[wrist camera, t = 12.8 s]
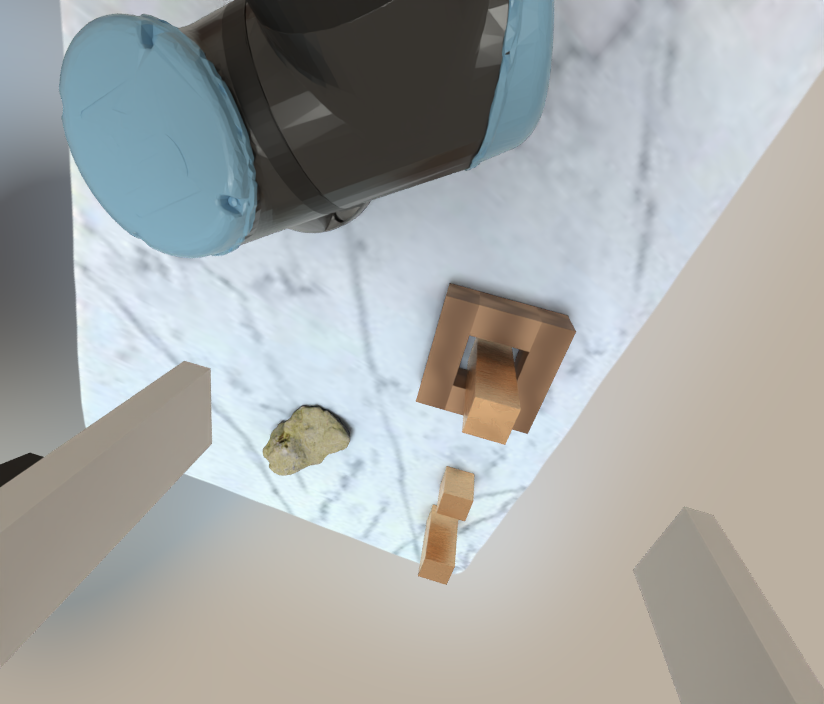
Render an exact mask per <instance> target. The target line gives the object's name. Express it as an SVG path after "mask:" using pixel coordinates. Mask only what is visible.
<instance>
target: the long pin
mask: <svg viewBox="0 0 824 704" xmlns="http://www.w3.org/2000/svg"><path fill="white" fill-rule="evenodd" d="M520 410H521V408H520V401H519V394H518V387H517V380H516V373H515V366H514V359H513V352H512V347H510V346H506V345H502V344H499V343H495V342H492V341H488V340H485V339H481V338H477V337H476V338H475V341H474V344H473V347H472V350H471V353H470V356H469V359H468V365H467V378H466V390H465V403H464V415H463V428H462V432H463V433H466V434H470V435H473V436H477V437H480V438H483V439H487V440H490V441H494V442H497V443H501V444H504V445H505V444H506V442H507V439H508V437H509V435H510V433H511V430H512V428H513V426H514V424H515V422H516V419H517V417H518V415H519V413H520Z"/></svg>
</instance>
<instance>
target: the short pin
mask: <svg viewBox="0 0 824 704" xmlns="http://www.w3.org/2000/svg"><path fill="white" fill-rule="evenodd" d="M473 495H474V474H473V473H469V472H466V471H462V470H459V469H455V468H452V467H448V466H447V467H446V470H445V473H444V475H443V478H442V481H441V484H440V489H439V496H438V504H437V511H436V513H438V514H441V515H445V516H448V517H452V518H455V519H458V520H462V521H465V520H466V518H467V515H468V513H469V510H470V508H471V505H472V503H473Z"/></svg>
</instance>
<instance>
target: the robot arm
mask: <svg viewBox="0 0 824 704" xmlns="http://www.w3.org/2000/svg"><path fill="white" fill-rule="evenodd" d="M553 31H554V0H234V1H232V2H230V3H228V4H227V5H225V6H223V7H221V8H219V9H218V10H216V11H214V12H212V13H210V14H208V15H207V16H205V17H203V18H201V19H199V20H198V21H196V22H194V23H192V24H190V25H188V26H185V27H181V28H177V27H175V26H172V25H171V24H169V23H168V22H166V21H164V20H160V19H158V18H156V17H154V16H151V15H147V14H142V15H141V16H136V15H129V14H111V15H106V16H102V17H99V18H96V19H94V20H93V21H91V22H89V23H88V24H87V25H86V26H84V27H83V28H82V29H81V30H80V31H79V32H78V33H77V34H76V36H75V37H74V38H73V40H72V42H71V43H70V45H69V47H68V49H67V51H66V54H65V57H64V59H63V64H62V67H61V74H60V84H59V91H60V95H61V99H62V103H63V115H62V122H63V127H64V131H65V135H66V138H67V142H68V145H69V148H70V150H71V153H72V156H73V158H74V161H75V163H76V165H77V167H78V169H79V171H80V173H81V175H82V177H83V179H84V180H85V182H86V184H87V185H88V187H89V189H90V190H91V192H92V193H93V195H94V196H95V198H96V199H97V200H98V202H99V203H100V204H101V206H102V207H103V208H104V209H105V210H106V212H107V213H108V214H109V215H110V216H111V217H112V218H113V219H114V220H115V221H116V222H117V223H118V224H119V225H120V226H121V227H122V228H123V229H124V230H126V231H127V232H128V233H129V234H131V235H132V236H134V237H136V238H139V239H142V240H143V241H144V242H146V244H147V245H149V246H150V247H152V248H153V249H155V250H157V251H160V252H162V253H165V254H168V255H171V256H176V257H182V258H201V257H205V256H210V255H212V256H220V255H225V254H228V253H230V252H232V251H234V250H236V249H237V248H238V247H239V246H240V245H242V244H245V243H248V242H251V241H253V240H256V239H259V238H262V237H265V236H268V235H270V234H273V233H276V232H279V231H282V230H285V229H291V230H294V231H299V232H304V233H321V232H327V231H331V230H334V229H337V228H339V227H341V226H343V225H345V224H347V223H349V222H350V221H352V220H353V219H355V218H356V217H357V216H359V215H360V214H361V213H362V212H363V211H364V209H365V208H366V207H367V206H368V204H369V203H370V201H371V200H373V199H376V198H380V197H383V196H386V195H389V194H392V193H395V192H398V191H401V190H404V189H407V188H410V187H413V186H416V185H419V184H422V183H425V182H428V181H431V180H434V179H437V178H440V177H443V176H446V175H449V174H452V173H456V172H459V171H462V170H465V171H467V170H470V169H471V168H475V167H476V166H477V165H479V164H480V162H482V161H484V160H487V159H489V158H492V157H494V156H496V155H499V154H501V153H504V152H506V151H508V150H511V149H513V148H515V147H517V146H519V145H520V144H521V143H523V142H524V141H525V140H526V139H527V138H528V137H529V136H530V135H531V134H532V132H533V131H534V129H535V127H536V125H537V123H538V122H539V120H540V117H541V114H542V112H543V108H544V105H545V101H546V96H547V92H548V86H549V79H550V71H551V61H552V49H553ZM211 444H212V425H211V370H210V368H207V367H203V366H200V365H197V364H193V363H190V362H186V361H183V362H182V363H180V364H179V365H178V366H176V367H175V368H173V369H172V370H170V371H169V372H167V373H166V374H164V375H163V376H162V377H160V378H159V379H157V380H156V381H154V382H153V383H151V384H150V385H148V386H147V387H146V388H144V389H143V390H141V391H140V392H138V393H137V394H135V395H134V396H132V397H131V398H130V399H128V400H127V401H125V402H124V403H122V404H121V405H119V406H118V407H116V408H115V409H114V410H112V411H111V412H109V413H108V414H106V415H105V416H103V417H102V418H100V419H99V420H98V421H96V422H95V423H93V424H92V425H90V426H89V427H87V428H86V429H84V430H83V431H82V432H80V433H79V434H77V435H76V436H74V437H73V438H72V439H70V440H69V441H67V442H66V443H64V444H63V445H61V446H60V447H58V448H57V449H56V450H54V451H53V452H51V453H50V454H48V455H47V456H45V457H42V456H39V455H36V454H32V453H28V454H25V455H23V456H20V457H18V458H15V459H13V460H10V461H8V462H5V463H3V464H0V668H1V667H2V666H3V665H4V664H5V663H6V662H7V661H8V660H9V659H10V657H11V656H12V655H13V654H14V653H15V652H16V651H17V650H18V649H19V648H20V647H21V646H22V645H23V644H24V643H25V642H26V640H27V639H28V638H29V637H30V636H31V635H32V634H33V633H34V632H35V631H36V630H37V629H38V628H39V627H40V626H41V624H42V623H43V622H44V621H45V620H46V619H47V618H48V617H49V616H50V615H51V614H52V613H53V612H54V611H55V610H56V608H58V607H59V605H60V604H61V603H62V602H63V601H64V600H65V599H66V598H67V597H68V596H69V595H70V594H71V593H72V592H73V591H74V590H75V588H76V587H77V586H78V585H79V584H80V583H81V582H82V581H83V580H84V579H85V578H86V577H87V576H88V574H90V572H91V571H92V570H93V569H94V568H95V567H96V566H97V565H98V564H99V563H100V562H101V561H102V560H103V559H104V558H105V557H106V555H107V554H108V553H109V552H110V551H111V550H112V549H113V548H114V547H115V546H116V545H117V544H118V543H119V542H120V541H121V539H123V537H124V536H125V535H126V534H127V533H128V532H129V531H130V530H131V529H132V528H133V527H134V526H135V525H136V524H137V523H138V522H139V520H140V519H141V518H142V517H143V516H144V515H145V514H146V513H147V512H148V511H149V510H150V509H151V508H152V507H153V506H154V504H156V502H157V501H158V500H159V499H160V498H161V497H162V496H163V495H164V494H165V493H166V492H167V491H168V490H169V489H170V488H171V486H172V485H173V484H174V483H175V482H176V481H177V480H178V479H179V478H180V477H181V476H182V475H183V474H184V473H185V472H186V471H187V470H188V468H189V467H190V466H191V465H192V464H193V463H194V462H195V461H196V460H197V459H198V458H199V457H200V456H201V455H202V454H203V453H204V451H205V450H206V449H207V448H208V447H209V446H210V445H211ZM633 571H634V574H635V576H636V579H637V582H638V585H639V588H640V591H641V593H642V596H643V599H644V601H645V604H646V607H647V610H648V613H649V616H650V618H651V621H652V624H653V627H654V630H655V632H656V635H657V638H658V640H659V644H660V647H661V649H662V652H663V655H664V658H665V661H666V663H667V666H668V669H669V672H670V674H671V677H672V680H673V683H674V686H675V688H676V691H677V694H678V697H679V700H680V702H681V704H824V689H823V687H822V685H821V684H820V682H819V681H818V679H817V678H816V676H815V674H814V673H813V672H812V670H811V668H810V666H809V665H808V663H807V662H806V660H805V659H804V657H803V655H802V654H801V652H800V651H799V649H798V648H797V646H796V644H795V643H794V641H793V640H792V638H791V636H790V635H789V634H788V632H787V630H786V629H785V627H784V625H783V624H782V622H781V621H780V619H779V618H778V616H777V614H776V613H775V611H774V610H773V608H772V607H771V605H770V603H769V602H768V600H767V599H766V597H765V596H764V594H763V592H762V591H761V589H760V588H759V586H758V585H757V583H756V581H755V580H754V578H753V577H752V575H751V573H750V572H749V570H748V569H747V567H746V566H745V564H744V562H743V561H742V560H741V558H740V556H739V555H738V553H737V551H736V550H735V548H734V547H733V545H732V544H731V542H730V540H729V539H728V538H727V536H726V534H725V533H724V531H723V529H722V528H721V526H720V525H719V524H718V522H717V520H716V519H715V517H714V515H711V514H708V513H705V512H701V511H698V510H694V509H691V508H687V507H684V508H683V509H682V510H681V511H680V512H679V514H678V515H677V516H676V517H675V519H674V520H673V521H672V522H671V524H670V525H669V526H668V527H667V528H666V530H665V531H664V532H663V533H662V535H661V536H660V537H659V538H658V540H657V541H656V542H655V543H654V545H653V546H652V547H651V548H650V549H649V551H648V552H647V553H646V554H645V556H644V557H643V558H642V559H641V561H640V562H639V563H638V564H637V565H636V567H635V568H634V569H633Z"/></svg>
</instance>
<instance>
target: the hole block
mask: <svg viewBox="0 0 824 704" xmlns="http://www.w3.org/2000/svg"><path fill="white" fill-rule="evenodd" d="M575 333H576V331H575V329H574V327H573V325H572V323H571V321H570V319H569V317H568V316H567V315H564V314H560V313H557V312H553V311H549V310H546V309H542V308H538V307H535V306H531V305H527V304H524V303H520V302H517V301H513V300H509V299H506V298H502V297H498V296H495V295H491V294H487V293H484V292H480V291H477V290H473V289H469V288H466V287H462V286H458V285H455V284H451V283H449V287H448V290H447V294H446V297H445V301H444V304H443V308H442V311H441V315H440V318H439V322H438V325H437V329H436V332H435V336H434V339H433V343H432V346H431V350H430V353H429V357H428V360H427V364H426V367H425V371H424V374H423V378H422V381H421V385H420V389H419V392H418V396H417V399H416V402H419V403H422V404H426V405H429V406H433V407H436V408H440V409H443V410H447V411H450V412H454V413H457V414H461V415H464V403H465V390H466V378H467V370H465V369H462V368H459V365H460V362H461V359H462V356H463V353H464V350H465V347H466V344H467V341H468V338H469V335H470V336H474V337H477V338H481V339H485V340H488V341H492V342H495V343H499V344H502V345H506V346H510V347H513V348H517V349H519V352H518V354H517V357H516V359H515V362H514V366H515V373H516V380H517V387H518V394H519V401H520V408H521V410H520V413H519V415H518V417H517V419H516V422H515V424H514V426H513V428H512V429H513V430H516V431H519V432H523V433H526V434H528V432H529V430H530V428H531V426H532V424H533V421H534V419H535V417H536V415H537V413H538V411H539V409H540V407H541V405H542V402H543V400H544V398H545V396H546V394H547V392H548V390H549V388H550V386H551V384H552V381H553V379H554V377H555V375H556V373H557V371H558V369H559V367H560V365H561V362H562V360H563V358H564V356H565V354H566V352H567V350H568V348H569V346H570V343H571V341H572V339H573V337H574V335H575Z"/></svg>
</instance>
